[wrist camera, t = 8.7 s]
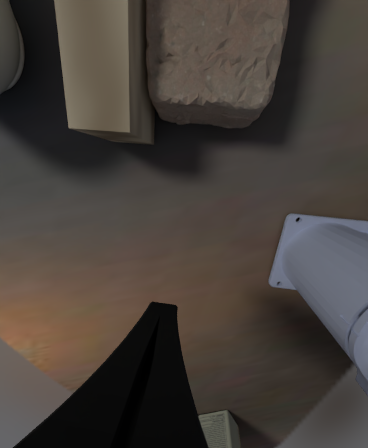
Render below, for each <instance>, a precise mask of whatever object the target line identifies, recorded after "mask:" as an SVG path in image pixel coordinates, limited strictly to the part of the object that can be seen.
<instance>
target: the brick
mask: <svg viewBox="0 0 368 448" xmlns="http://www.w3.org/2000/svg"><path fill="white" fill-rule="evenodd" d="M289 6H290V0H146V38H147V50H146V66H147V72H148V90H149V97H150V98H151V100H152V104H153V105H154V107H155V109H156V111H157V112H158V114H159V117H160V118H161V119H162V120H165V121H169V122H171V123H173V122H176V124H180V125H183V124H189V123H192V124H194V123H197V124H205V125H206V124H212V125H213V126H221V127H224V128H244V127H247V126H249V125H250V124H251V123H252V122H253V121H255V120H256V119H258V118H259V116H260V114H261V112H262V111H263V109H264V108H265V107H266V105H267V104H268V103H270V101H271V98H272V95H273V91H274V86H275V78H276V74H277V71H278V68H279V64H280V59H281V53H282V49H283V45H284V41H285V36H286V32H287V26H288V18H289Z"/></svg>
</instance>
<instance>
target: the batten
mask: <svg viewBox="0 0 368 448" xmlns="http://www.w3.org/2000/svg"><path fill="white" fill-rule="evenodd" d="M54 2H55V11H56V20H57V29H58V38H59V47H60V56H61V65H62V74H63V82H64V91H65V100H66V109H67V118H68V127H69V128H70V129H73V130H76V131H79V132H83V133H86V134H89V135H92V136H96V137H99V138H102V139H106V140H109V141H112V142H125V143H138V144H151V145H154V122H155V107H154V105H153V104H152V100H151V98H150V97H149V90H148V72H147V66H146V50H147V38H146V0H54Z"/></svg>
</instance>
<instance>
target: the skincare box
mask: <svg viewBox="0 0 368 448" xmlns="http://www.w3.org/2000/svg"><path fill="white" fill-rule="evenodd" d="M198 417H199V420H200V423H201V427H202V430H203V432H204V435H205V438H206V441H207V444H208V447H209V448H241V442H240V435H239V428H238V425H237V424H236V422H235V421H234V419H233V417H232V416H231V414H230V413H229V411H228V410H224V411H219V412H214V413H209V414H203V415H199V416H198Z"/></svg>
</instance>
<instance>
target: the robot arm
mask: <svg viewBox="0 0 368 448" xmlns="http://www.w3.org/2000/svg"><path fill="white" fill-rule="evenodd" d="M297 218H300V219H299V221H297V222H296V219H297ZM278 282H280V283H279V284H277V283H278ZM269 284H270V285H271V286H272V287H278V288H286V289H293V290H297V291H298V292H299V293H300V295H301V296H302V297H303V299H304V300H305V301H306V302H307V304H308V305H309V306H310V308H311V309H312V310H313V311H314V313H315V314H316V315H317V317H318V318H319V319H320V320H321V322H322V323H323V324H324V326H325V327H326V328H327V329H328V331H329V332H330V333H331V335H332V336H333V337H334V338H335V340H336V341H337V342H338V344H339V345H340V346H341V347H342V349H343V350H344V351H345V353H346V354H347V355H348V356H349V358H350V359H351V360H352V361H353V362H354V364H355V366H356V368H357V376H356V381H357V382H358V383H359V385H360V386H361V387H362V389H363V390H364V392H365V393H366V394H367V396H368V221H362V220H352V219H342V218H333V217H323V216H313V215H303V214H293V213H292V214H289V215H287V217H286V219H285V223H284V226H283V230H282V234H281V237H280V241H279V245H278V248H277V252H276V255H275V259H274V263H273V266H272V270H271V273H270V277H269ZM177 308H178V307H177V306H176V305H172V304H165V303H158V302H151V303H150V304H149V306H148V308H147V309H146V311H145V312H144V314H143V315H142V317H141V318H140V319H139V321H138V322H137V323H136V325H135V326H134V327H133V329H132V330H131V331H130V332H129V334H128V335H127V336H126V338H125V339H124V340H123V341H122V342H121V344H120V345H119V346H118V347H117V348H116V349H115V350H114V352H113V353H112V354H111V355H110V356H109V357H108V358H107V360H106V361H105V362H104V363H103V364H102V365H101V366H100V367H99V368H98V369H97V370H96V371H95V372H94V373H93V374H92V375H91V376H90V378H89V379H88V380H87V381H86V382H85V383H84V384H83V385H82V386H81V387H79V388H78V389H77V390H76V391H75V392H74V393H73V394H72V395H71V396H70V397H69V398H68V399H67V400H66V401H65V402H64V403H63V404H62V405H61V406H60V407H59V408H57V409H56V410H55V411H54V412H53V413H52V414H51V415H50V416H49V417H48V418H46V419H45V420H44V421H43V422H42V423H41V424H40V425H38V426H37V427H36V428H35V429H34V430H33V431H32V432H30V433H29V434H28V435H27V436H26V437H25V438H24V439H22V440H21V441H20V442H19V443H18V444H17V445H15V446H14V447H13V448H209V447H208V444H207V441H206V438H205V435H204V432H203V430H202V427H201V423H200V420H199V417H198V414H197V410H196V407H195V404H194V400H193V397H192V393H191V390H190V386H189V382H188V378H187V374H186V370H185V365H184V361H183V356H182V351H181V345H180V339H179V333H178V323H177Z"/></svg>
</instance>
